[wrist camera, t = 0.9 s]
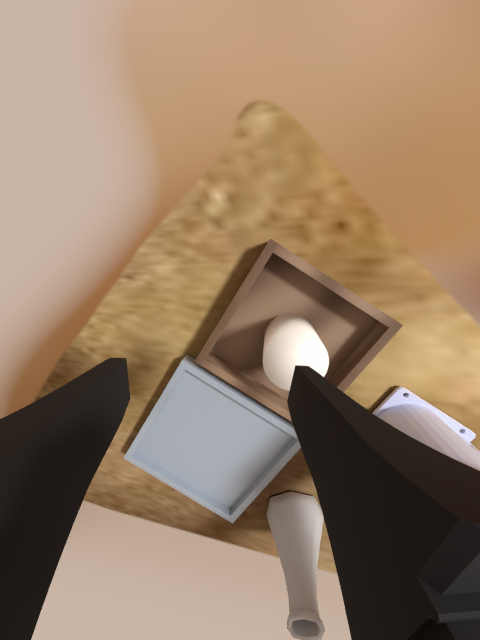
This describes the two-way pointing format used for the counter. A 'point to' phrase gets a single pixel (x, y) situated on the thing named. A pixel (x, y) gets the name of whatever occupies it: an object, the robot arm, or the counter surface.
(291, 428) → the slate tray
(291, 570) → the flask
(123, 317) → the counter surface
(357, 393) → the counter surface
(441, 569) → the robot arm
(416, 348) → the counter surface
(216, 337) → the brown square tray
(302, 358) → the cream cylinder
